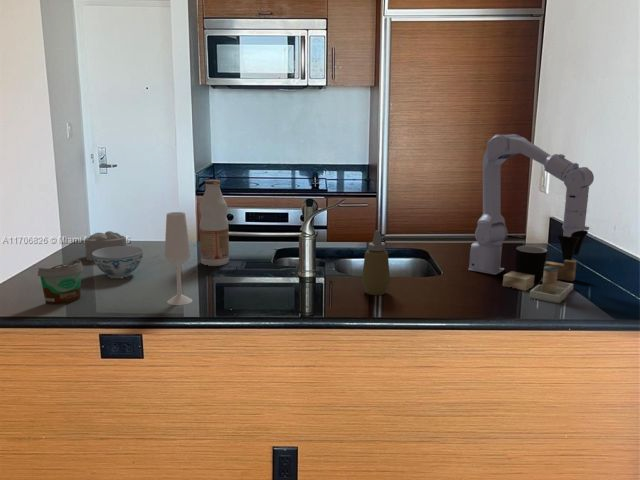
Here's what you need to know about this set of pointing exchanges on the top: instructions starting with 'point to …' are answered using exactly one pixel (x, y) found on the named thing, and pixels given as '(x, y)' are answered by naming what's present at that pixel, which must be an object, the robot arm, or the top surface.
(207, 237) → the fruit juice
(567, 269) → the bench stop
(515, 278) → the push block
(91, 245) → the lumpy-topped squat cylinder
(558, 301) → the tray
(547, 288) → the dowel
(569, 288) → the collar
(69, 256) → the top surface
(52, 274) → the food container
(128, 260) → the chinaware
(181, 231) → the champagne flute
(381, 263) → the squeeze bottle
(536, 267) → the mug
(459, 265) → the top surface
